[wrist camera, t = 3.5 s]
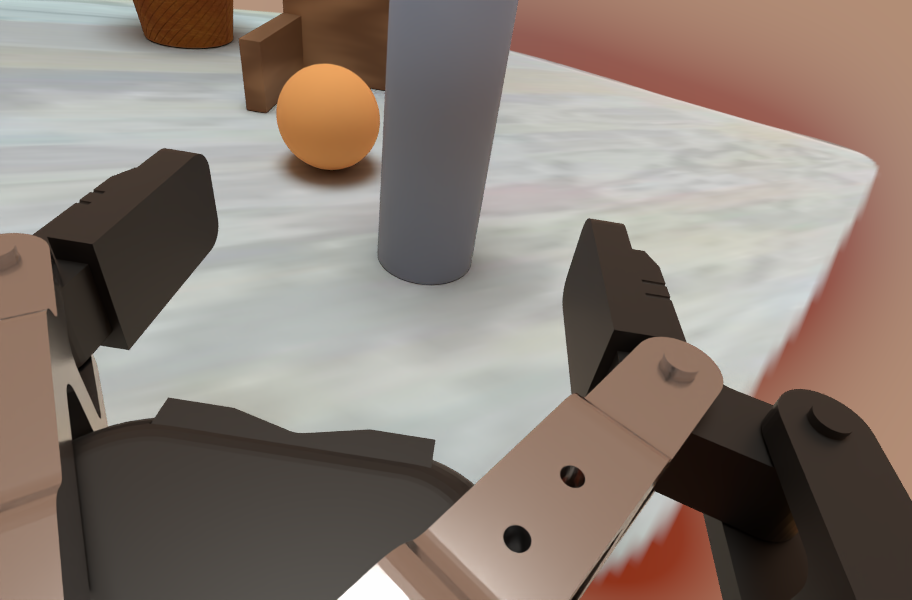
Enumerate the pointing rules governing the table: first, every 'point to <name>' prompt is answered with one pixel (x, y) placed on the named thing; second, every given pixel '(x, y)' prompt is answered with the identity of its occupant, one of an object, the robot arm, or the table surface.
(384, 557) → the robot arm
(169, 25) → the disposable coffee cup
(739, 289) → the table surface
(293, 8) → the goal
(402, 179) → the player figure
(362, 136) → the ball
